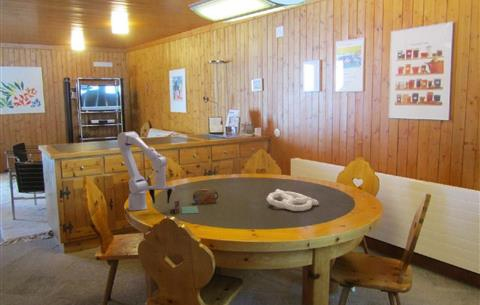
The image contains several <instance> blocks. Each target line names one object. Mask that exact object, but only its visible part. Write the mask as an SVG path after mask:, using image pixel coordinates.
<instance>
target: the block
mask: <svg viewBox="0 0 480 305" xmlns="http://www.w3.org/2000/svg"><path fill="white" fill-rule="evenodd" d="M174 213H175V214H180V196H174Z"/></svg>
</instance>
